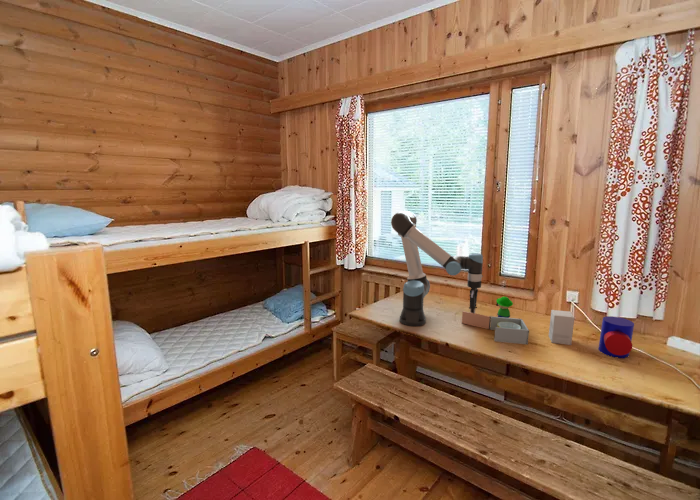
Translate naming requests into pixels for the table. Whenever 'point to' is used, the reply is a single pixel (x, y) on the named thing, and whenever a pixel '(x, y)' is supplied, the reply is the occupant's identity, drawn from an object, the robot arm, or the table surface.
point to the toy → (504, 307)
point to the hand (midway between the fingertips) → (472, 318)
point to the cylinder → (616, 336)
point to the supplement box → (561, 327)
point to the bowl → (508, 325)
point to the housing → (510, 331)
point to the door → (476, 320)
